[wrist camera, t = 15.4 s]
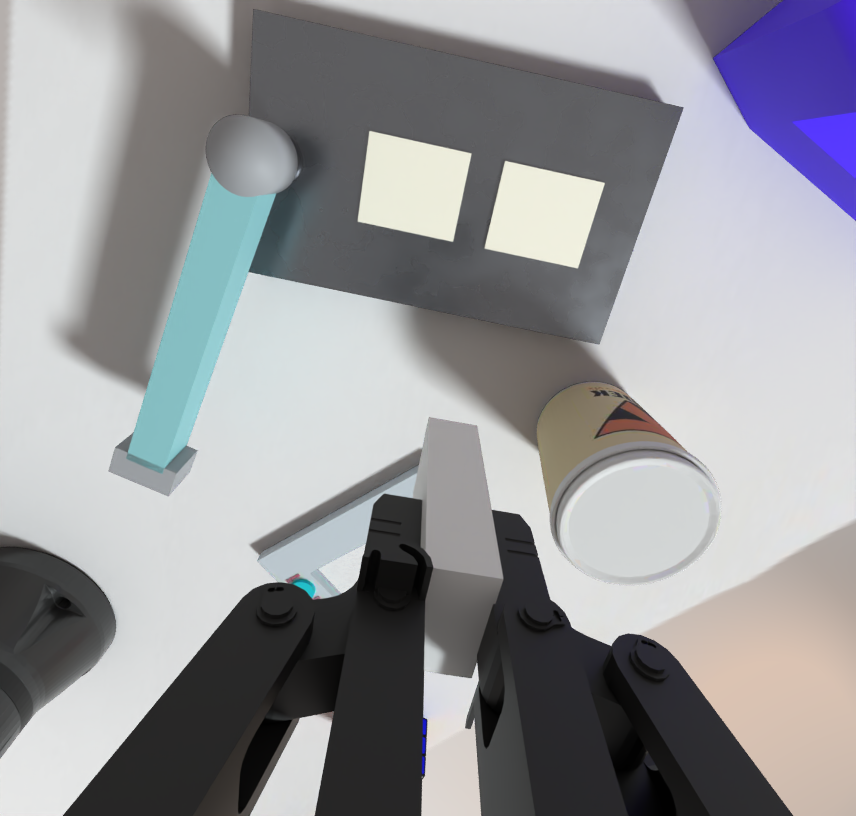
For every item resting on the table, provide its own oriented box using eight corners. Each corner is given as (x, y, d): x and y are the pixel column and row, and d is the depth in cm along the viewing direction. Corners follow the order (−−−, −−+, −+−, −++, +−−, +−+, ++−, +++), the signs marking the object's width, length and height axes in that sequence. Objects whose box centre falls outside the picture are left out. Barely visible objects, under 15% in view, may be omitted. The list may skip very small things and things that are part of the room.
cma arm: (240, 104, 27) (214, 96, 24) (310, 144, 27) (294, 141, 24) (135, 447, 36) (107, 472, 33) (190, 471, 36) (167, 497, 34)
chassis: (253, 265, 35) (227, 277, 31) (265, 19, 29) (236, -6, 25) (591, 335, 36) (609, 356, 32) (669, 111, 30) (702, 102, 26)
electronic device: (431, 467, 39) (527, 593, 44) (432, 453, 41) (524, 574, 46) (255, 564, 44) (359, 668, 49) (264, 546, 46) (362, 648, 51)
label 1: (358, 221, 32) (357, 221, 31) (369, 131, 30) (369, 130, 29) (453, 241, 32) (453, 241, 32) (471, 153, 30) (471, 153, 30)
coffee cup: (676, 411, 38) (766, 506, 27) (595, 498, 42) (645, 613, 31) (577, 346, 37) (630, 420, 26) (501, 443, 40) (519, 544, 29)
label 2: (484, 248, 32) (484, 248, 32) (504, 161, 30) (505, 161, 30) (577, 267, 32) (577, 268, 32) (603, 182, 30) (605, 183, 30)
